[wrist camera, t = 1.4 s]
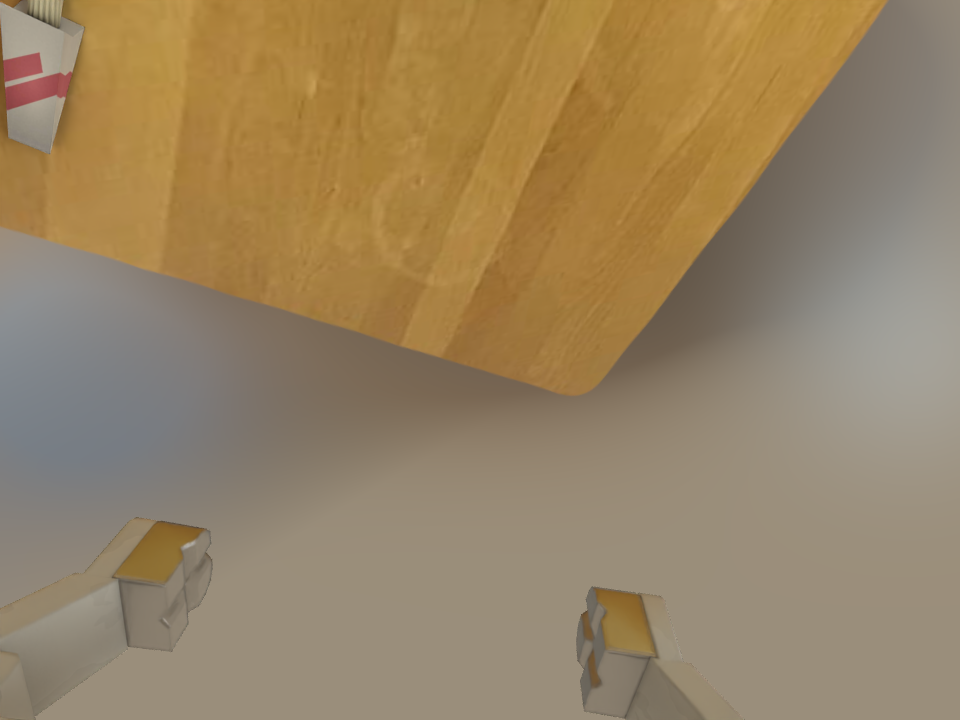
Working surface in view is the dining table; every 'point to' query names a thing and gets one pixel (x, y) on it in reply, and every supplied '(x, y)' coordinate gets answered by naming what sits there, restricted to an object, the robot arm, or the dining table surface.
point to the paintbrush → (37, 68)
